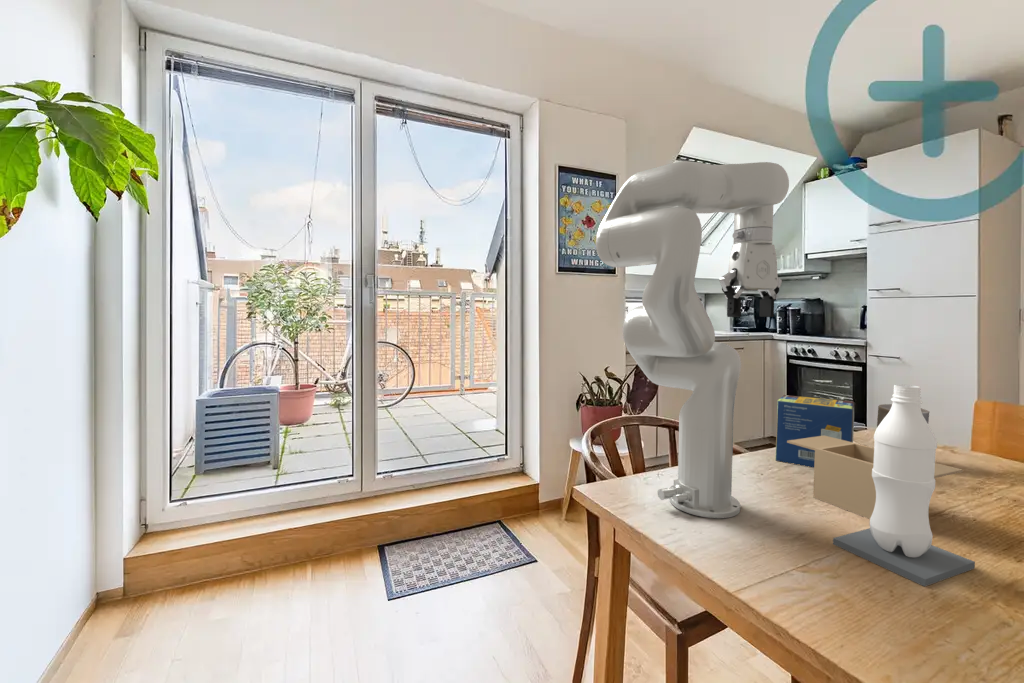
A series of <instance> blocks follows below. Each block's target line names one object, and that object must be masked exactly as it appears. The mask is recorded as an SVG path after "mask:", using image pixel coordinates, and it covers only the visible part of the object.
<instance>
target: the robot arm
mask: <svg viewBox="0 0 1024 683" xmlns="http://www.w3.org/2000/svg"><path fill="white" fill-rule="evenodd" d="M789 187H790V180H789V175H788V173H787V171H786V169H785V168H784V167H783V166H782V165H780V164H779V163H774V162H772V161H771V162H768V161H759V162H758V161H757V162H745V163H728V164H727V163H726V164H712V163H711V164H710V163H703V162H696V161H689V160H683V161H681V160H680V161H676V162H671V163H668V164H664V165H660V166H657V167H653V168H650V169H645V170H642V171H638V172H636V173H634V174H633V175H631V176H630V177H629V178H628V179H627V180H626V181H625V182H624V184H623V185H622V186H621V188H620V189H619V190H618V193H617V194H616V195H615V197H614V199H613V201H612V203H611V205H609V208H608V210H607V212H606V213H605V215H604V217H603V219H602V220H601V222H600V224H599V227H598V230H597V232H596V238H595V249H596V253H597V255H598V258H599V260H600V261H602V262H603V263H604V265H606V266H608V267H611V268H629V267H641V266H650V265H655V269H654V271H653V273H652V276H650V278H649V280H648V282H647V283H646V285H645V286H644V289H643V292H642V296H641V301H642V305H640V306H637V307H636V306H635V307H634V308H633V309H631V310H630V311H629V312H628V313H627V315H626V317H625V318H624V320H623V323H622V324H623V326H622V336H623V342H624V344H625V347H626V350H627V351H628V353H629V354H630V356H631V357H632V358H633V360H634V361H635V362H636V364H637V366H638V367H639V368H640V370H641V371H642V372H643V374H644V375H645V376H646V378H648V380H649V381H650V382H651V383H653V384H655V385H656V386H662V387H666V388H674V389H681V390H682V389H683V390H687V391H692V392H691V393H692V394H691V395H690V396H689V397H688V399H687V400H686V401H685V402H684V404H683V405H682V406H681V408H680V411H679V414H678V415H679V416H678V458H677V459H678V460H677V462H678V465H677V466H678V470H677V472H678V473H677V479H673V485H671V486H670V487H669V488H668V487H665V488H664V487H663V488H660V489H658V490H657V497H658V498H659V499H660V500H669V502H670V504H672V506H674V507H675V508H677V509H678V510H679V511H682V512H685V513H686V514H690V515H693V516H697V517H701V518H709V519H728V518H732V517H734V516H735V517H736V516H737V515H738V514H739V513H740V511H741V503H740V502H739V500H738V499H737V498H736V497H734V496H733V495H732V489H733V486H732V485H733V480H732V479H733V451H734V448H733V446H734V443H733V442H734V419H735V418H734V415H735V414H734V413H735V400H736V393H737V388H738V383H739V378H740V375H741V368H742V361H741V360H742V359H741V356H740V354H739V352H738V350H736V349H735V348H734V347H733V346H731V345H729V344H727V343H723V342H720V341H719V342H718V341H715V340H716V334H715V333H716V332H715V329H714V325H713V324H712V323H713V322H712V321H711V319H710V317H709V314H708V312H707V310H706V308H705V307H704V305H703V303H702V301H701V299H700V297H699V295H698V293H697V290H696V286H695V281H696V280H695V278H696V273H697V269H698V263H699V258H700V257H699V256H700V253H701V246H702V238H703V237H702V236H703V231H702V230H703V229H702V224H701V221H700V220H701V219H700V218H699V216H698V214H713V213H716V214H717V213H722V214H723V213H725V214H728V213H729V214H734V215H733V216H734V217H733V219H734V220H733V222H734V223H733V233H732V238H733V245H732V246H731V249H730V250H731V251H730V254H729V255H730V256H729V263H728V270H727V271H728V272H727V273H726V274H724V275H722V276H721V277H719V280H718V281H719V283H720V285H721V290H722V292H723V294H724V298H725V299H726V300H727V301H726V303H727V304H726V316H727V318H740V317H741V316H742V298H741V297H740V296H741V295H742V293H743V291H747V292H749V291H750V292H751V291H752V292H753V291H754V292H756V291H758V294H759V295H760V297H761V299H759V315H758V316H759V317H760V318H773V317H774V316H775V300H776V299H777V297H778V296H777V295H778V293H779V292H780V288H781V286H782V283H783V280H782V279H781V278H780V277H779V276H778V261H777V260H778V259H777V258H778V257H777V251H776V247H775V244H773V231H774V230H773V228H774V206H775V205H778V204H780V203H781V202H782V201H783V200H785V198H786V196H787V194H788V192H789Z"/></svg>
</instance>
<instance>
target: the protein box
mask: <svg viewBox="0 0 1024 683" xmlns="http://www.w3.org/2000/svg"><path fill="white" fill-rule="evenodd" d="M776 410H777V411H776V437H775V439H776V440H775V456H774V457H775V461H777V462H781V461H782V462H781V463H786V462H788V463H787V464H791V463H794V464H793V465H797V464H800V465H799V466H802V465H805V466H804V467H808V466H809V468H814V463H815V450H811V449H808V448H804V447H801V446H797V445H794V444H790V443H787V441H789V440H796V439H803V438H810V437H817V436H828V437H833V438H837V439H841V440H845V441H849V442H853V443H854V430H855V429H854V428H855V426H854V424H855V402H854V400H853V401H852V400H840V399H830V398H818V397H808V396H798V395H787V394H783V395H782V396H781V397H780V398H779V399H777V408H776Z"/></svg>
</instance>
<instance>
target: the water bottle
mask: <svg viewBox="0 0 1024 683" xmlns="http://www.w3.org/2000/svg"><path fill="white" fill-rule="evenodd" d="M892 392H893V394H892V395H891V396H892V397H891V398H890V401H892V407H891V409H890V411H889V413H888V414H887V415H886V417H885V418H884V419H883V420H882V422H881V423H880V424H879V426H878V427H877V426H876V428H875V432H874V434H873V440H874V442H873V443H874V446H873V448H874V464H873V469H872V478H873V480H874V484H875V489H876V502H875V507H874V511H873V514H872V516H871V518H870V519H869V528H870V531H871V533H872V535H873V537H874V539H875V540H876V542H877V543H878V545H879V546H880V547H881V548H882V549H884V550H886V551H888V552H893V551H894V550H895V548H896V547H897V546H901V547H902V550H903V552H904V554H905V555H906V556H907V557H912V558H916V557H919V556H921V555H922V554H924V553H925V552H926V551H927V550H928V549H929V548H930V546H931V545H933V544H932V543H933V537H934V536H933V532H932V530H931V526H930V525H931V524H930V519H929V509H930V502H931V498H932V496H933V493H934V491H935V488H936V478H934V472H935V463H936V452H937V451H936V450H937V449H938V442H937V438H936V436H935V433H934V432H933V430H932V428H931V426H930V425H929V422H928V423H927V422H926V420H925V418H924V417H923V415H922V412H921V404H923V401H922V400H921V399H922V396H921V386H918V385H910V384H894V385H893V391H892Z"/></svg>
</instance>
